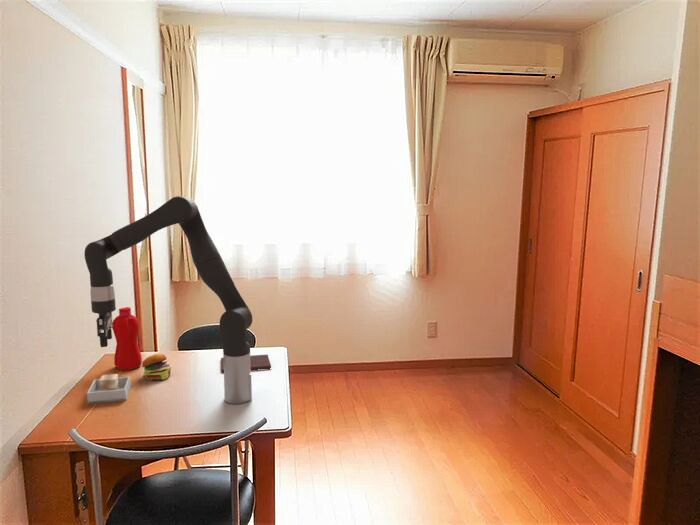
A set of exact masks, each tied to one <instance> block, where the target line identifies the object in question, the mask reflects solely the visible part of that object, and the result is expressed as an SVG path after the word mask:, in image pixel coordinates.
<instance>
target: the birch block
mask: <svg viewBox="0 0 700 525" xmlns="http://www.w3.org/2000/svg"><path fill="white" fill-rule="evenodd" d="M118 377H119V374H118V373H110V374H102V376H101V377H100V378H99V379H100V389H101V391H110V390H119V386H118Z"/></svg>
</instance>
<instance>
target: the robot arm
mask: <svg viewBox="0 0 700 525" xmlns="http://www.w3.org/2000/svg"><path fill="white" fill-rule="evenodd" d="M176 224H178V225H179V227H180V228H181V229H182V232H183V233H184V235H185V237H186V238H187V241H188V245H189V249H190V254H191V259H192V262H193V265H194V267H195V269H196V271H197V273H198V275H199V277H200V278H201V280H202V282H203V283H204V284H205V285H206V286H207V287H208V288H209V289H210V290H211V291H212V292H214V293H215V295H216V296H217V297H218V298H219V300H220V302H221V303H222V305H223V307H224V312H223V313H222V314H221V315H220V316H221V317H220V318H219V337H220V346H221V348H222V355H223V356H222V358H223V361H224V373H223V388H224V393H223V394H224V401H225V402H226V403H228V404H231V405H233V404H234V405H241V404H244V403H247V402H251V401H252V400H253V393H252V388H253V387H252V371H251V367H250V356H251V345H250V343H249V341H248V342H247V339H246V338H247V336H246V331H247V330H248V329H249V328H250V327H251V326H252V324H253V315H252V311H251V310H250V308H249V306H248V305H247V304H246V302H245V300H244V298H243V296H241V294H240V292H239V290H238V289H237V286H236V285H235V282H234V281H233V279H232V277H231V274H230V273H229V271H228V268H227V266H226V263H225V262H224V260H223V258H222V256H221V254H220V252H219V250H218V249H217V246H216V245H215V242H214V241H213V239H212V237H211V236H210V234H209V232H208V231H207V228H206V226H205V224H204V221H203V218H202V216H201V213H200V210H199V207H198V205H197V203H196V202H195V201H194V199H192V198H190V197H186V196H183V195H181V196H180V195H177V196H173V197H172V198H170V199H169V200H168V201H166V202H165V203H163V204H162V205H161V206H159V207H158V208H157V209H155V210H153V211H152V212H151V213H149V214H147V215H145V216H144V217H141V218H139V219H138V220H135V221H132V222H131V223H129V224H127V225H125V226H123V227H120V228H118V229H117V230H115V231H114V232H112V233H111V234H109V235H108V236H105V237H103V238H101V239H98V240H95V241H91V242H90V243H88V244H86V246H85V249H84V255H83V256H84V260H85V264H86V268H87V270H88V272H89V282H90V293H89V294H90V304H91V305H90V306H91V312H92V313H94V314H97V315H98V317H97V318H96V322H95V323H96V330H97V332H96V333H97V334H96V335H97V337H99V345H100V347H101V348H106V347H108V345H109V343H108V342H109V341H108V340H112V339H113V333H112V331H113V330H112V325H113V312H114V311H115V310H116V308H117V307H116V295H115V292H116V291H115V287H114V279H113V276H114V275H113V271H112V269H111V268H109V266H108V262H107V260H108V259H111V257H114V256H116V255H117V254H119V253H121V252H122V251H125V250H127V249H129V248H132V247H134V246H135V245H138V244H140V243H142V242H143V241H145V240H146V239H148V238H149V237H151V236H152V235H153V234H155V233H156V232H159V231H160V230H163V229H164V228H167V227H170V226H174V225H176ZM102 331H103V332H102Z"/></svg>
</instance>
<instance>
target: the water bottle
mask: <svg viewBox="0 0 700 525" xmlns="http://www.w3.org/2000/svg"><path fill="white" fill-rule="evenodd" d="M131 311H132V310H131V306H130V307H129V306H125V307H121V308H118V315H116V317H115V318H114V319H112V322H113V325H112V328H111V330H112V331H113V334H114V338H115V341H116V347H115V353H114V366H115V368H116V369H118V370H120V371H122V370H127V371H130V370H133V369H137V368H140V366H142V363H143V358H142V354H141V350H140V347H139V343H138V337H139V332H140V322H139V319H138V318H137V317H136V316H135V315H133V314H132V312H131Z"/></svg>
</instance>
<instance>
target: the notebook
mask: <svg viewBox="0 0 700 525" xmlns="http://www.w3.org/2000/svg"><path fill="white" fill-rule="evenodd" d="M270 361H271V360H270V358H269V355H268V354H256V355H250V367H251V370H256V371H259V370H258V369H268V370H271V369H272V365H271V362H270ZM220 366H221V368H220V370H221V371H220V372H221V374H224V361H223V357H221V358H220ZM270 368H271V369H270Z"/></svg>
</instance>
